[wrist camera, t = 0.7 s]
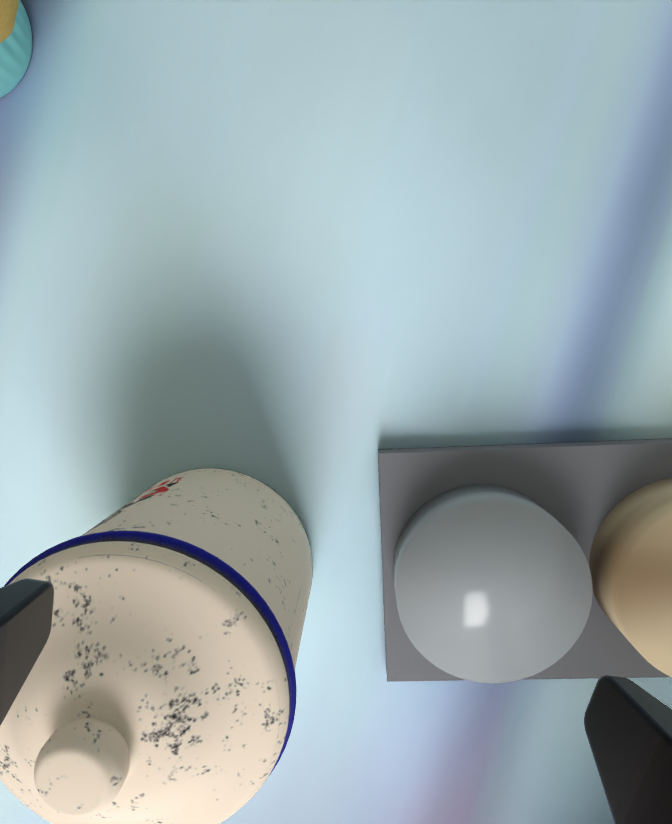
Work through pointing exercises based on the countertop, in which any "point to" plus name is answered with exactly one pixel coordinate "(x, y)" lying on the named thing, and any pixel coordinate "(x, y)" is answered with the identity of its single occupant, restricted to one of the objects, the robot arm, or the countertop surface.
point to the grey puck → (490, 584)
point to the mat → (551, 488)
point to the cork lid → (638, 571)
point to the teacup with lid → (164, 658)
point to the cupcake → (13, 44)
